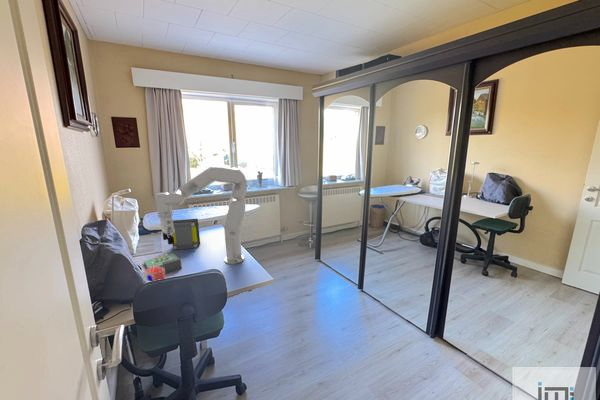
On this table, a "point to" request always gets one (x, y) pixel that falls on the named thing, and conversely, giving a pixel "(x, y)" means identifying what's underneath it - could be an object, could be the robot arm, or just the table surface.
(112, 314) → the table surface
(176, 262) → the block
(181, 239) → the electrical component
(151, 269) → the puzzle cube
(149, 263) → the header board
